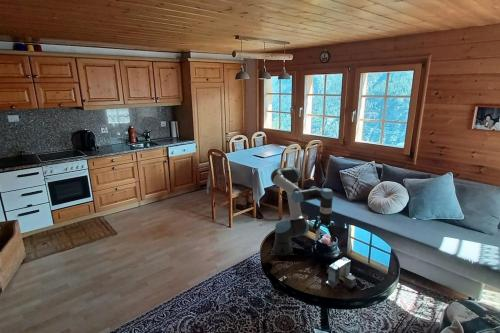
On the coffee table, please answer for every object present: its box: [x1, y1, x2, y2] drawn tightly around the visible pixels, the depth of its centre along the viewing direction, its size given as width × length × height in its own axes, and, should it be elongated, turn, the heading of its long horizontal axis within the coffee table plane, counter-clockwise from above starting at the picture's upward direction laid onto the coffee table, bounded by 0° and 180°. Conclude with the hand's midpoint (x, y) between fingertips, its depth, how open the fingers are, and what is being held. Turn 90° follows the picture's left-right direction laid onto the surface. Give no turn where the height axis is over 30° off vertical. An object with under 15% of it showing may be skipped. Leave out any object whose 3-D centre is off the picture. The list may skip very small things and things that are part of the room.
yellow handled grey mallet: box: [326, 268, 356, 289], centre depth 187 cm, size 19×4×6 cm, turn 38°
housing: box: [325, 256, 353, 288], centre depth 187 cm, size 6×20×12 cm, turn 128°
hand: (323, 242), depth 193 cm, fingers open, 11 cm apart
